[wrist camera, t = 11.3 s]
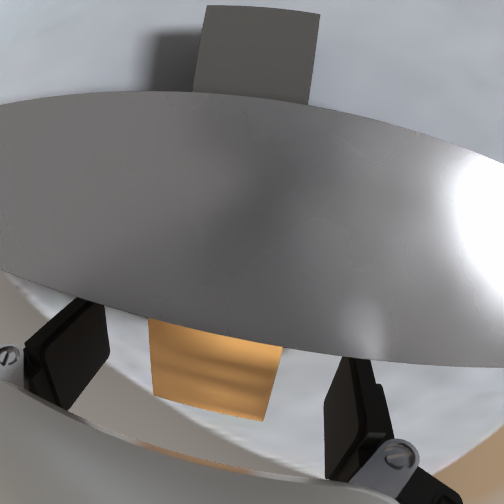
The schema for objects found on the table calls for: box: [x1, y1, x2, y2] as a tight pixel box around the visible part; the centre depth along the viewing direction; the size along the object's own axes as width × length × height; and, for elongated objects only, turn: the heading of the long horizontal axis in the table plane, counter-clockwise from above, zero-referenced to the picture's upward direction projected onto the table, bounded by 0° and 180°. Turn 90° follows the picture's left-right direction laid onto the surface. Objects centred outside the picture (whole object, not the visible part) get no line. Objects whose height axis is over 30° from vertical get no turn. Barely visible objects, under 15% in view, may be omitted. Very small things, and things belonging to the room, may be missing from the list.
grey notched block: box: [0, 91, 504, 368], centre depth 8 cm, size 4×16×6 cm, turn 82°
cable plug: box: [148, 5, 320, 421], centre depth 10 cm, size 12×4×4 cm, turn 172°
